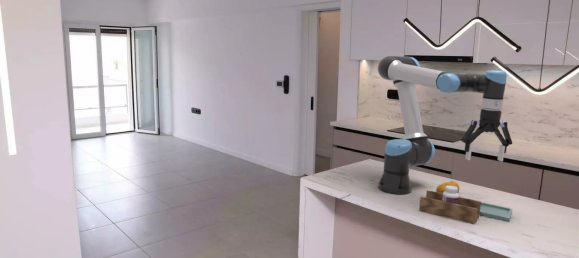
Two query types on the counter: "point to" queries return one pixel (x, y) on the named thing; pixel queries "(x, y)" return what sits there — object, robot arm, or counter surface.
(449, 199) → the pill bottle
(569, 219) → the counter surface
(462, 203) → the wooden shelf
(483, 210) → the tray
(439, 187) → the potato
